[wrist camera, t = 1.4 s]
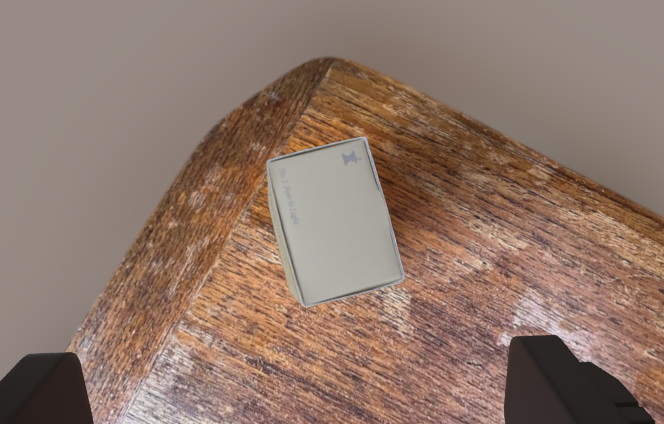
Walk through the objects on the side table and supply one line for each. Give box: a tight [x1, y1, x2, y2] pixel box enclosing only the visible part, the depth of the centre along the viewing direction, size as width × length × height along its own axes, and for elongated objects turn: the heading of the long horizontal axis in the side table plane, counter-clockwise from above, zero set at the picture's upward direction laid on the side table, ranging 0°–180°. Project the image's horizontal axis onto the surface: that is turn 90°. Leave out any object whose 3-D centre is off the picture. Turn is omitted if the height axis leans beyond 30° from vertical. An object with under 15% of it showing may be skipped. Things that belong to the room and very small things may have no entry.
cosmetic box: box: [267, 136, 405, 307], centre depth 26 cm, size 6×4×12 cm
